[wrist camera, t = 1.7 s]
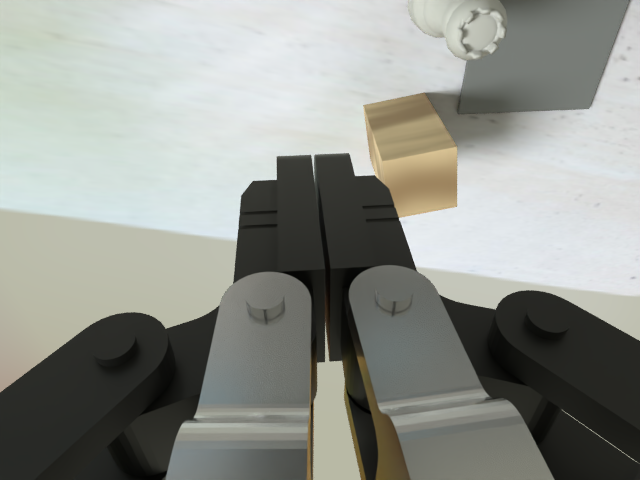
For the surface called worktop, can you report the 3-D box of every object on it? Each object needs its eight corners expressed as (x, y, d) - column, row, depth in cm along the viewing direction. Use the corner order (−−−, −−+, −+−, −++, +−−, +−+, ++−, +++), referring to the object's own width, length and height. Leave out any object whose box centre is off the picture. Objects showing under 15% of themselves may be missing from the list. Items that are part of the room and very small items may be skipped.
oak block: (363, 105, 35) (382, 161, 29) (424, 92, 35) (457, 146, 29) (370, 158, 38) (389, 219, 32) (426, 147, 38) (456, 206, 32)
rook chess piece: (486, -38, 30) (541, -6, 24) (461, 37, 32) (504, 83, 26) (417, -51, 29) (456, -22, 23) (397, 26, 32) (427, 71, 26)
